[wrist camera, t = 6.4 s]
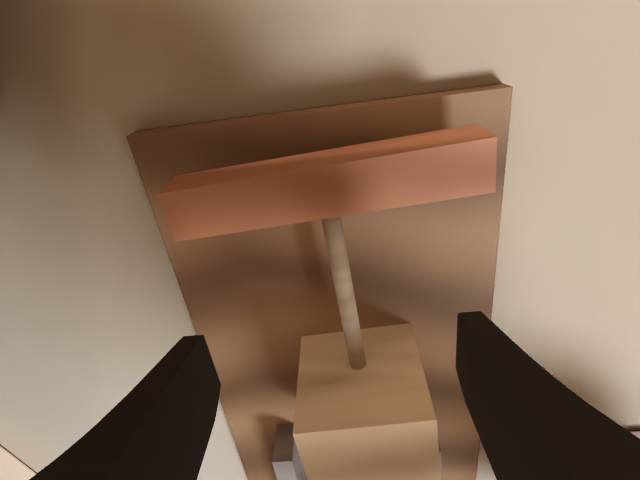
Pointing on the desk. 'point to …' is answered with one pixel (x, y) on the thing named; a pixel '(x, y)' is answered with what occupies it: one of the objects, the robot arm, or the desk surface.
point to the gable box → (13, 467)
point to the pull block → (347, 287)
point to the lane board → (315, 272)
